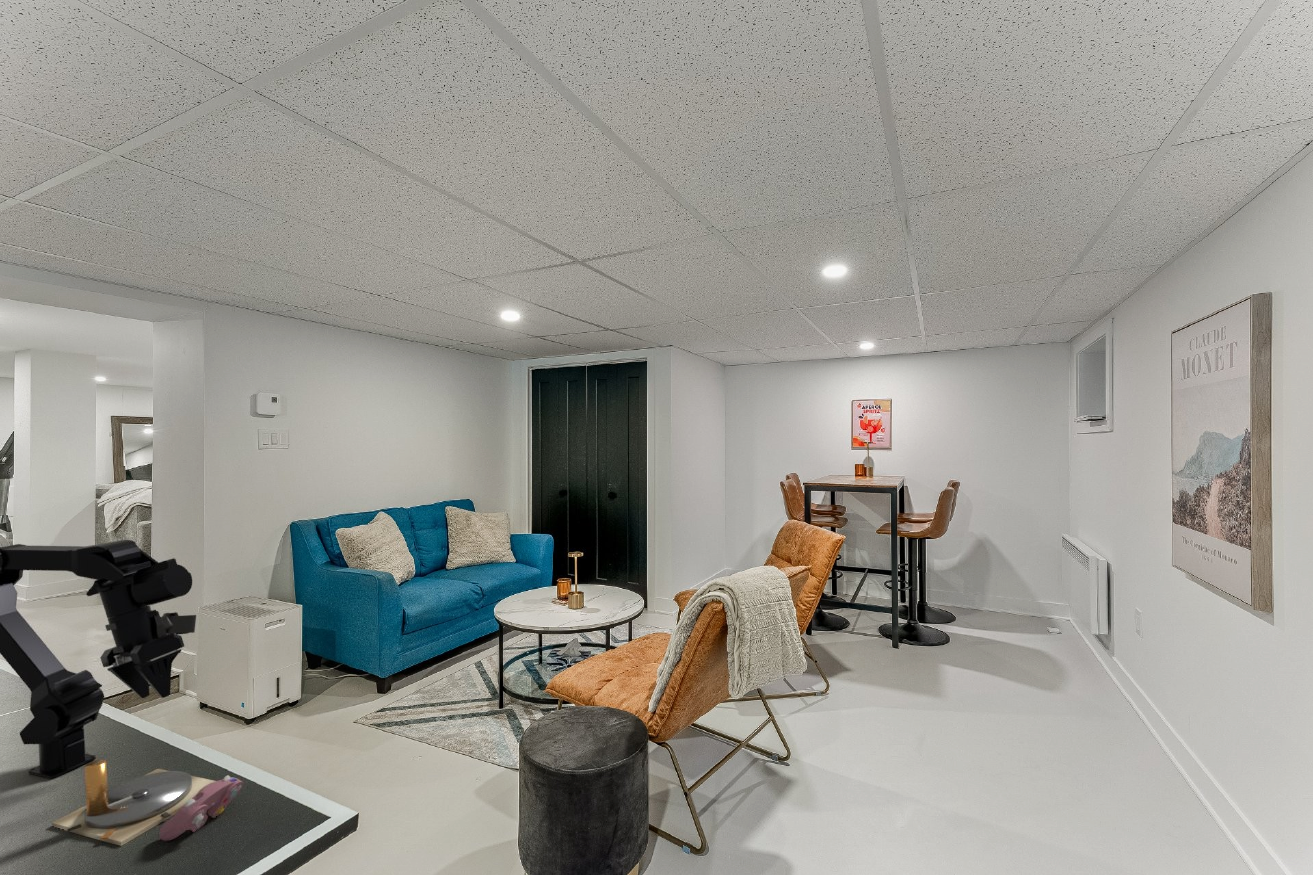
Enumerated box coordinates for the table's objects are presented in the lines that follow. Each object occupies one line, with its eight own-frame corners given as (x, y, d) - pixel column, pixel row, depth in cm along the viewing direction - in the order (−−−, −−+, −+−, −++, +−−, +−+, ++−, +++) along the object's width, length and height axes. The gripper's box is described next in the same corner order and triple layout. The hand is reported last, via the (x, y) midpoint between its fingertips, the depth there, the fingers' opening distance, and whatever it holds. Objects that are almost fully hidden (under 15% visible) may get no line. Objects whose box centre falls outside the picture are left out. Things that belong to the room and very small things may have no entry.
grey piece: (63, 819, 90) (60, 765, 90) (156, 771, 103) (154, 724, 102) (122, 835, 87) (119, 779, 86) (211, 783, 99) (209, 734, 99)
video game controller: (176, 856, 86) (193, 815, 85) (152, 839, 86) (169, 798, 86) (238, 812, 95) (253, 775, 94) (215, 796, 96) (231, 759, 95)
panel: (46, 829, 89) (45, 824, 89) (158, 772, 104) (158, 767, 104) (119, 850, 85) (118, 844, 85) (225, 786, 99) (225, 782, 99)
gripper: (204, 589, 107) (230, 672, 108) (162, 598, 117) (186, 675, 117) (126, 615, 98) (155, 706, 98) (88, 623, 108) (114, 706, 108)
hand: (155, 696), depth 106 cm, fingers open, 9 cm apart
